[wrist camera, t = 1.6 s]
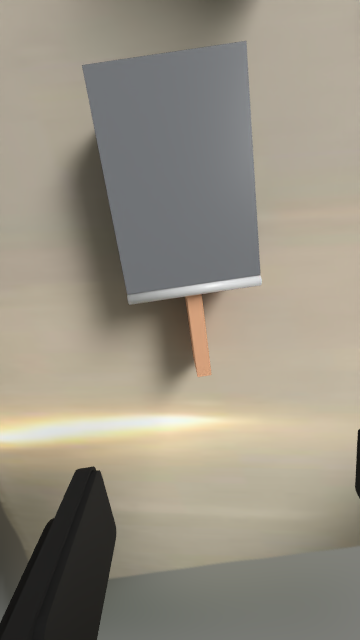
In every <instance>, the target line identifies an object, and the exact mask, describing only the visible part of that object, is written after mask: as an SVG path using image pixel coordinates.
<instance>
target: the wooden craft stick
mask: <svg viewBox="0 0 360 640" xmlns="http://www.w3.org/2000/svg"><path fill="white" fill-rule="evenodd" d="M185 300H186V307H187V314H188V322H189V329H190V336H191V343H192V350H193V358H194V363H195V367H196V372H197V376H198V377H201V376H207V375H211V367H210V359H209V351H208V342H207V334H206V326H205V318H204V309H203V301H202V294H199V295H192V296H185Z"/></svg>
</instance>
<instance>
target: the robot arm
mask: <svg viewBox="0 0 360 640" xmlns="http://www.w3.org/2000/svg"><path fill="white" fill-rule="evenodd" d="M355 488H356V492H357V494H358V496H359V498H360V429H359V430H358V440H357V461H356V482H355ZM115 540H116V525H115V522H114V518H113V514H112V511H111V507H110V503H109V500H108V496H107V493H106V489H105V485H104V482H103V478H102V475H101V472H100V470H99V471H96V469H95V467H88V468H81V469H77V470H76V471H75V473H74V475H73V477H72V480H71V482H70V484H69V486H68V489H67V491H66V493H65V495H64V498H63V500H62V502H61V504H60V507H59V509H58V511H57V514H56V516H55V518H53V519H51V520H50V521H49V522H48V523H47V525H46V526H45V528H44V530H43V532H42V534H41V537H40V539H39V541H38V543H37V545H36V547H35V549H34V552H33V554H32V556H31V558H30V560H29V562H28V565H27V567H26V569H25V571H24V573H23V575H22V577H21V580H20V582H19V584H18V586H17V588H16V590H15V592H14V595H13V597H12V599H11V601H10V604H9V605H8V608H7V610H6V612H5V614H4V616H3V618H2V621H1V623H0V640H97V636H98V630H99V625H100V620H101V614H102V609H103V603H104V599H105V593H106V588H107V582H108V577H109V572H110V567H111V562H112V556H113V551H114V546H115Z"/></svg>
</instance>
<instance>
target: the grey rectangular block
mask: <svg viewBox="0 0 360 640" xmlns="http://www.w3.org/2000/svg"><path fill="white" fill-rule="evenodd" d="M82 68H83V73H84V78H85V83H86V88H87V93H88V98H89V103H90V108H91V113H92V118H93V124H94V129H95V134H96V139H97V144H98V149H99V154H100V159H101V164H102V169H103V174H104V179H105V184H106V189H107V195H108V200H109V205H110V210H111V215H112V220H113V225H114V230H115V235H116V240H117V245H118V250H119V255H120V260H121V265H122V271H123V276H124V281H125V286H126V291H127V294H128V295H127V298H128V303H129V305H131V304H137V303H144V302H151V301H158V300H165V299H171V298H178V297H185V296H192V295H199V294H205V293H212V292H219V291H226V290H232V289H239V288H246V287H253V286H260V285H261V284H262V279H261V276H260V260H259V243H258V227H257V210H256V194H255V177H254V160H253V144H252V127H251V111H250V94H249V78H248V61H247V45H246V41H242V42H235V43H229V44H222V45H215V46H208V47H202V48H195V49H188V50H181V51H175V52H168V53H161V54H154V55H148V56H141V57H134V58H127V59H120V60H114V61H107V62H100V63H93V64H87V65H82Z"/></svg>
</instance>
